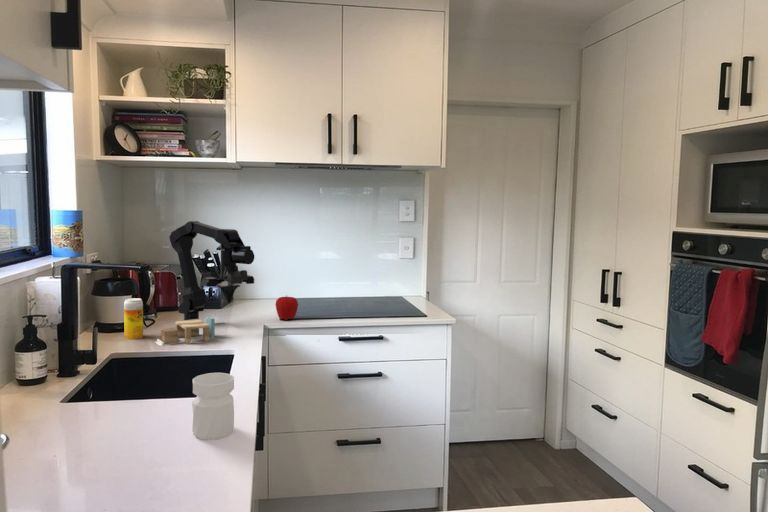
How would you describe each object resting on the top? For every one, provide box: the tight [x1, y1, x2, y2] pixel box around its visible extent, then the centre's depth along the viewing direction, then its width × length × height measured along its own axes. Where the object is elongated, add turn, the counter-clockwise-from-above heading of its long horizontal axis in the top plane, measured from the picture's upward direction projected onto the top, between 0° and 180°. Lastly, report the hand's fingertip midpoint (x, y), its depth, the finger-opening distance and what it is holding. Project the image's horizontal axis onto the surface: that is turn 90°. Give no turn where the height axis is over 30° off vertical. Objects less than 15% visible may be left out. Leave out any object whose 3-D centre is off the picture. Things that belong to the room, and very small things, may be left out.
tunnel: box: [174, 318, 210, 345], centre depth 191 cm, size 12×8×7 cm
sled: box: [154, 316, 216, 347], centre depth 189 cm, size 6×19×8 cm, turn 129°
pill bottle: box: [191, 372, 235, 441], centre depth 117 cm, size 9×9×12 cm
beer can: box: [123, 297, 144, 340], centre depth 191 cm, size 6×6×15 cm
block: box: [159, 327, 179, 345], centre depth 186 cm, size 4×4×4 cm
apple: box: [275, 295, 299, 321], centre depth 233 cm, size 10×10×11 cm
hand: (228, 303), depth 204 cm, fingers closed
